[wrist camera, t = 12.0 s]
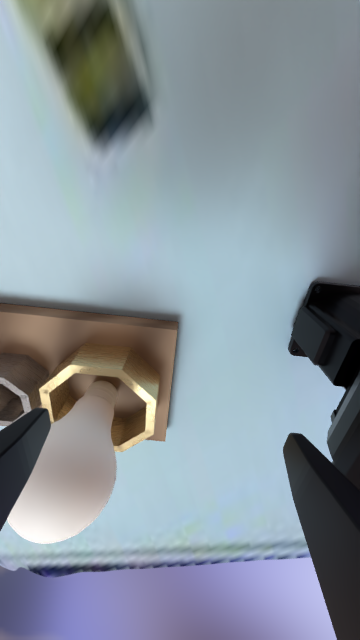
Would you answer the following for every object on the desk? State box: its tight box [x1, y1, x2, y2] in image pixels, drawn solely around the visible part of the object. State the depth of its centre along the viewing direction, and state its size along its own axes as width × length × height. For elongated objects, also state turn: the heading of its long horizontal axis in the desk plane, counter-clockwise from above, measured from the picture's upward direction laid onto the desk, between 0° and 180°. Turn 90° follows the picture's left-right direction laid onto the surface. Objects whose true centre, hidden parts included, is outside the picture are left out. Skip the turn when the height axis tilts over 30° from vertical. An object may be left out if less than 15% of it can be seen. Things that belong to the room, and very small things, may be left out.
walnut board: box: [0, 303, 178, 441], centre depth 22 cm, size 18×13×2 cm
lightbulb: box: [7, 381, 117, 544], centre depth 17 cm, size 6×6×11 cm
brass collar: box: [39, 343, 160, 452], centre depth 21 cm, size 9×9×3 cm
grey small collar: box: [0, 352, 49, 426], centre depth 20 cm, size 5×5×3 cm
